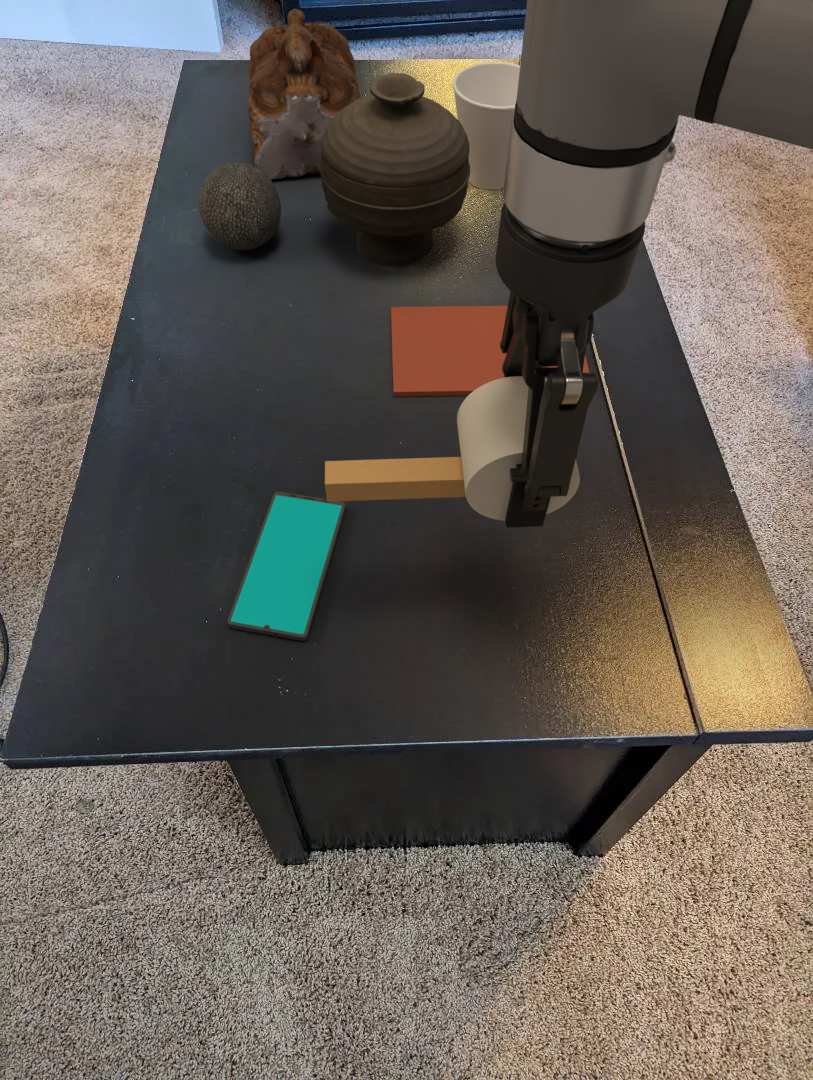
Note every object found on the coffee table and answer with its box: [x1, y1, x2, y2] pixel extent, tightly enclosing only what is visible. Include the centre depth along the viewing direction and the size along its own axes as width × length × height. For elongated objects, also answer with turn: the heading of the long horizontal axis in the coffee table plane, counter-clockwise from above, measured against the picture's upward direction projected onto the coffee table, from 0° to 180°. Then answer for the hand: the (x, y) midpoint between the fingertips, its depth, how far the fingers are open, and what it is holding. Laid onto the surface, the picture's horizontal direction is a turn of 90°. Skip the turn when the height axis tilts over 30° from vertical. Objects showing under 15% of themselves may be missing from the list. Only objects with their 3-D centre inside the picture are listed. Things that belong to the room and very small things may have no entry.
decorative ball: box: [198, 161, 282, 251], centre depth 94 cm, size 10×10×10 cm
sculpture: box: [247, 8, 362, 181], centre depth 107 cm, size 19×18×20 cm
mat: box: [390, 305, 590, 398], centre depth 87 cm, size 22×14×1 cm, turn 92°
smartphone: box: [227, 490, 347, 642], centre depth 71 cm, size 7×1×15 cm
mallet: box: [324, 376, 581, 522], centre depth 55 cm, size 18×7×8 cm, turn 93°
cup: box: [452, 61, 520, 191], centre depth 102 cm, size 12×12×12 cm
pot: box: [319, 72, 471, 267], centre depth 91 cm, size 18×18×20 cm
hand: (517, 481), depth 58 cm, fingers closed on mallet, 7 cm apart
